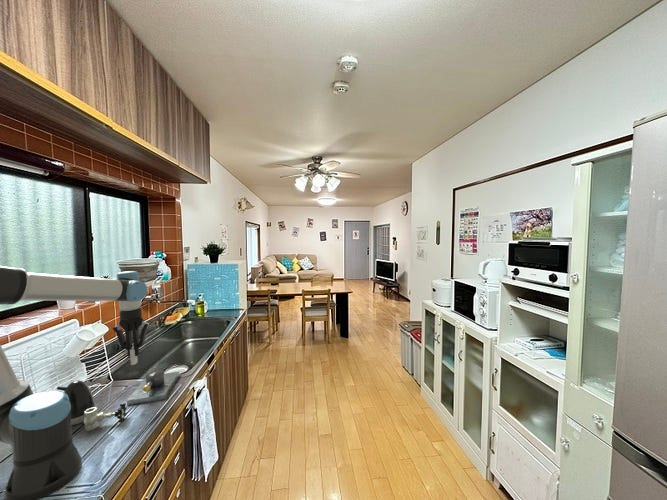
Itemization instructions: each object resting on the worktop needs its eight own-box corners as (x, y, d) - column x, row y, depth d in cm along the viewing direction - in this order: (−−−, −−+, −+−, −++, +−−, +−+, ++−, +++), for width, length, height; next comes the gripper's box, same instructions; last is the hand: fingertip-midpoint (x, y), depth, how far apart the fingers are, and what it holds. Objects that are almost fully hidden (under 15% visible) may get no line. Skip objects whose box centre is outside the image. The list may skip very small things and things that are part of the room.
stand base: (165, 399, 120) (164, 385, 120) (127, 405, 117) (126, 390, 117) (179, 375, 142) (178, 363, 141) (147, 379, 138) (146, 367, 138)
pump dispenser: (65, 417, 110) (62, 378, 109) (99, 409, 114) (96, 372, 114) (52, 433, 101) (49, 391, 100) (90, 424, 105) (87, 384, 104)
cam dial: (155, 395, 119) (154, 383, 119) (136, 398, 117) (135, 386, 117) (166, 378, 134) (166, 367, 134) (150, 380, 132) (149, 369, 132)
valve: (80, 435, 99) (121, 426, 104) (79, 416, 99) (120, 408, 103) (88, 423, 106) (127, 415, 110) (87, 406, 105) (126, 399, 110)
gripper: (151, 304, 124) (154, 357, 125) (116, 307, 121) (120, 362, 122) (144, 308, 117) (148, 365, 118) (107, 312, 113) (111, 369, 115)
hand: (134, 363), depth 120 cm, fingers closed
